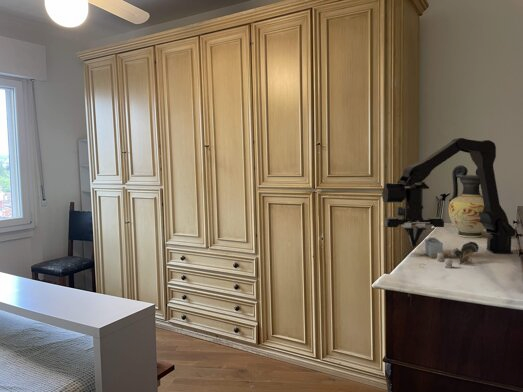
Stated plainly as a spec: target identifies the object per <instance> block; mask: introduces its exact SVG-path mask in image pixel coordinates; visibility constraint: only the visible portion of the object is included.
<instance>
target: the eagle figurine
mask: <svg viewBox="0 0 523 392" xmlns="http://www.w3.org/2000/svg"><path fill="white" fill-rule="evenodd" d="M479 249H480V247H479V245H478V244H477V242H475V241H468V242H467V243H464V244H462V247H461V249H459V248H458V247H456V248H453V249H451V250H450V255H455V256H456V258H458V260H459V265H461V264H463V262H464V261H465V260H466V261H468V262H469V263H471V264H473V262H472V258H470V256H472V254H473V253H474V254H475V253H477V252H478V251H479ZM455 256H454V257H455Z"/></svg>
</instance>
